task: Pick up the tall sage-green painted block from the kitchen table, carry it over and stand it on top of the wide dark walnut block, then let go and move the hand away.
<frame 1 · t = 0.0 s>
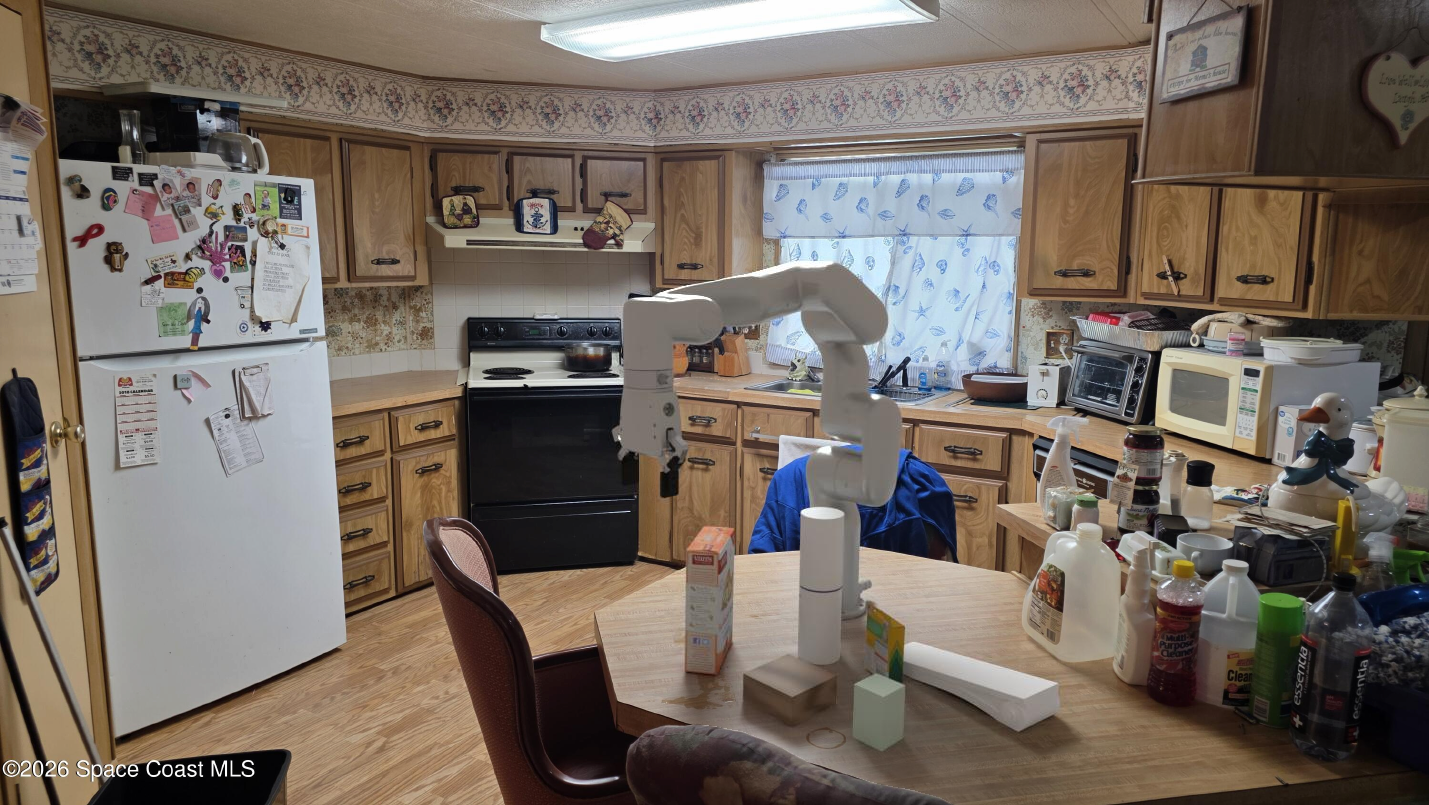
hand: (649, 490, 138), 31 cm above the table, tool pointing down, fingers open, 9 cm apart
sage block: (877, 738, 126), on the table
crayon box: (883, 677, 145), on the table
white arched block: (963, 692, 141), on the table
cracker box: (710, 657, 152), on the table
cylindrical container: (818, 656, 152), on the table
walnut block: (789, 705, 136), on the table
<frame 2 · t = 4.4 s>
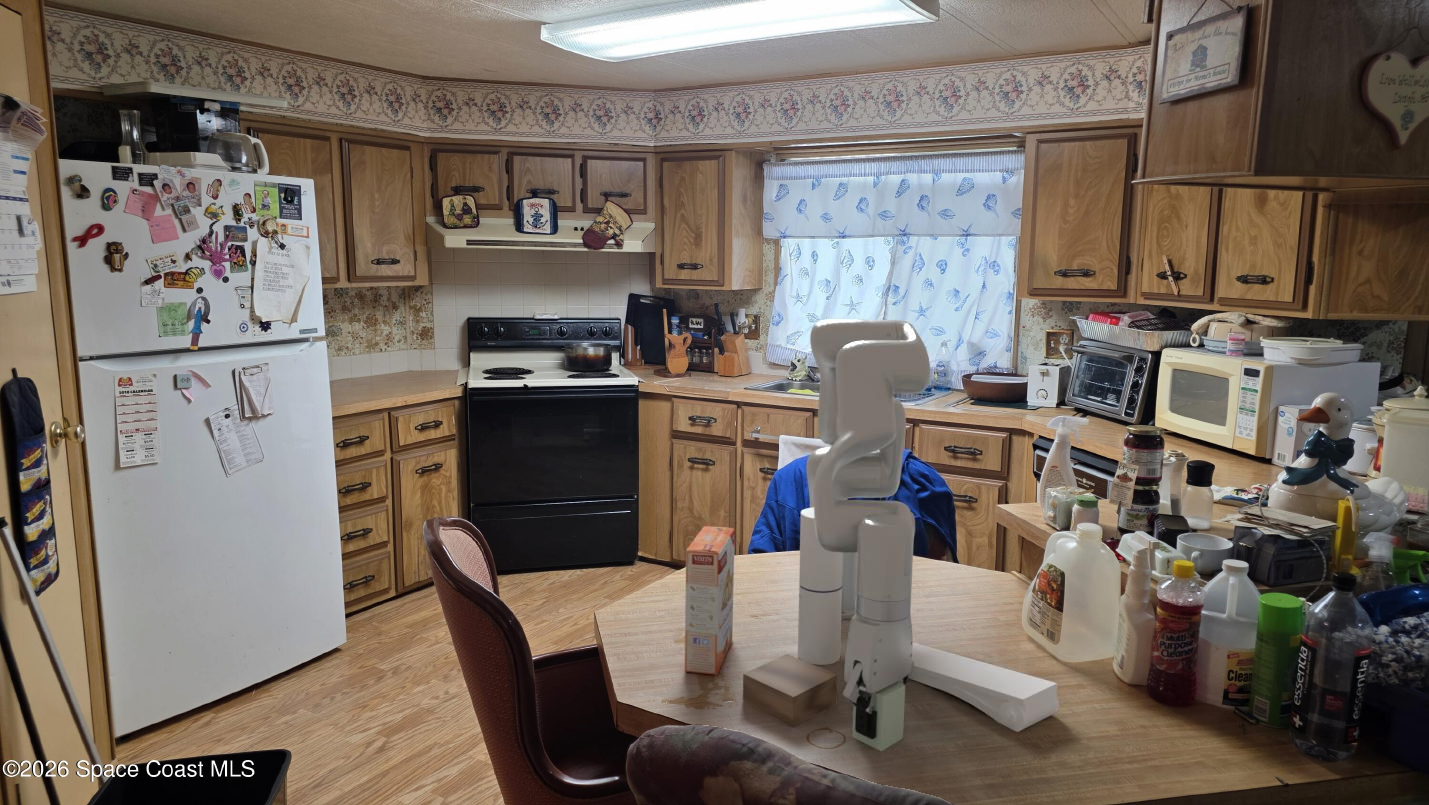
hand: (878, 726, 126), 2 cm above the table, tool pointing down, fingers closed on sage block, 4 cm apart
sage block: (877, 737, 126), on the table, touching gripper
everything else where it was.
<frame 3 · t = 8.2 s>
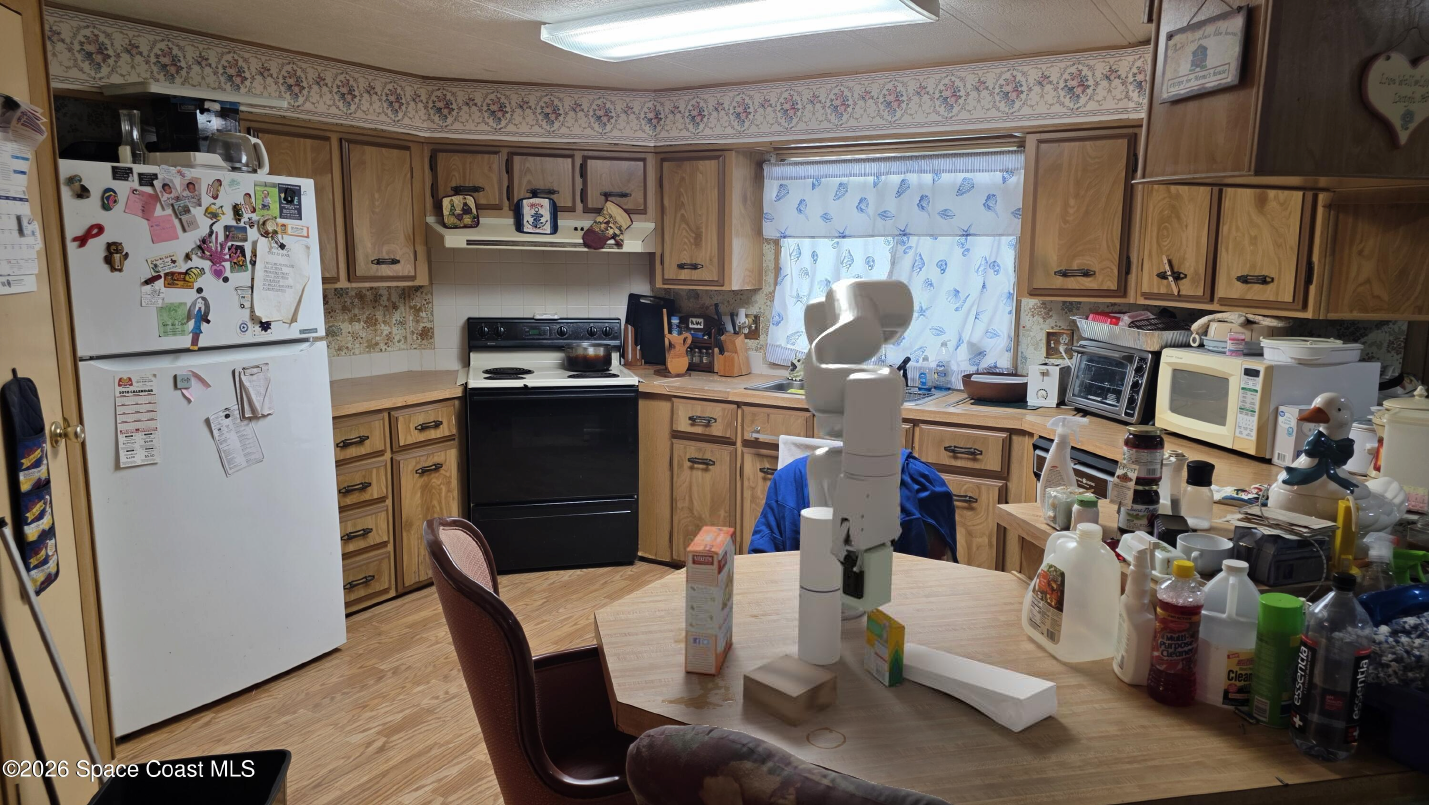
hand: (865, 589, 125), 21 cm above the table, tool pointing down, fingers closed on sage block, 4 cm apart
sage block: (865, 601, 125), point 19 cm above the table, touching gripper
everything else where it was.
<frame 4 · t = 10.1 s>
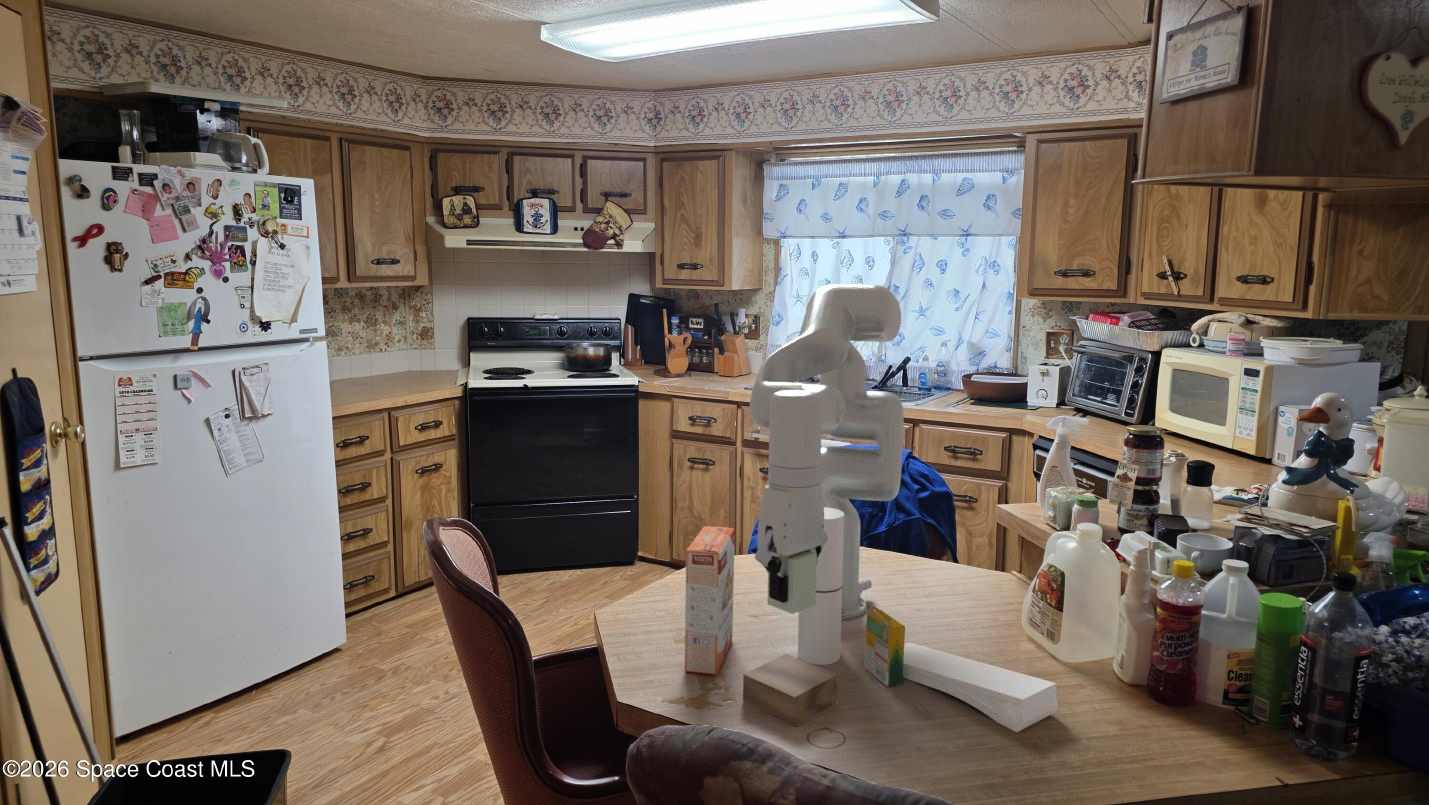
hand: (791, 594, 133), 17 cm above the table, tool pointing down, fingers closed on sage block, 4 cm apart
sage block: (791, 604, 133), point 16 cm above the table, touching gripper
everything else where it was.
when the fingers open (8 cm above the table, at t = 12.1 s): sage block drops 1 cm, resting on walnut block.
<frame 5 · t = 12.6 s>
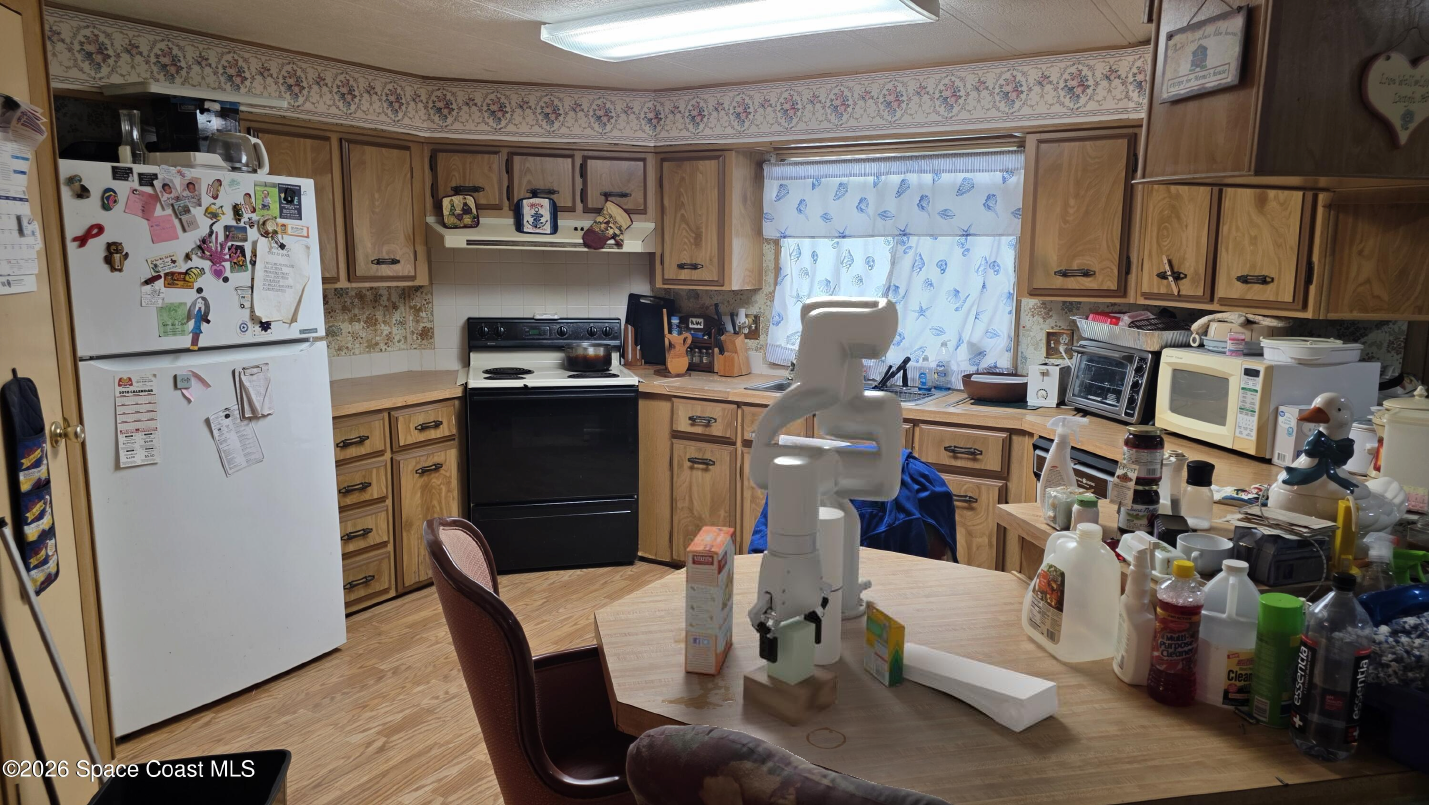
hand: (790, 650, 134), 8 cm above the table, tool pointing down, fingers open, 9 cm apart
sage block: (790, 674, 135), point 5 cm above the table, touching walnut block
walnut block: (789, 705, 136), on the table, touching sage block
everything else where it was.
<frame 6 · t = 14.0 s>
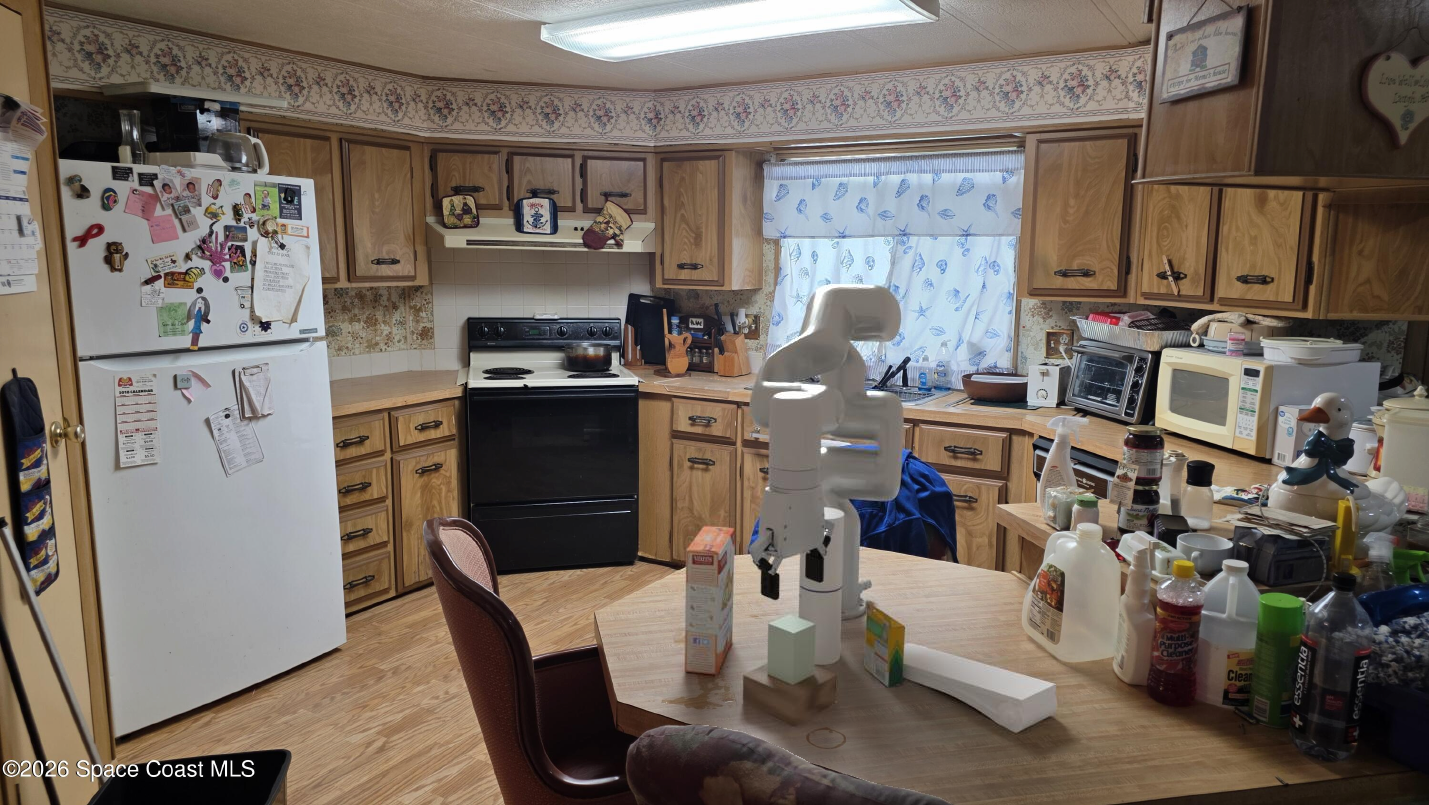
hand: (792, 588, 133), 18 cm above the table, tool pointing down, fingers open, 9 cm apart
nothing on the table moved.
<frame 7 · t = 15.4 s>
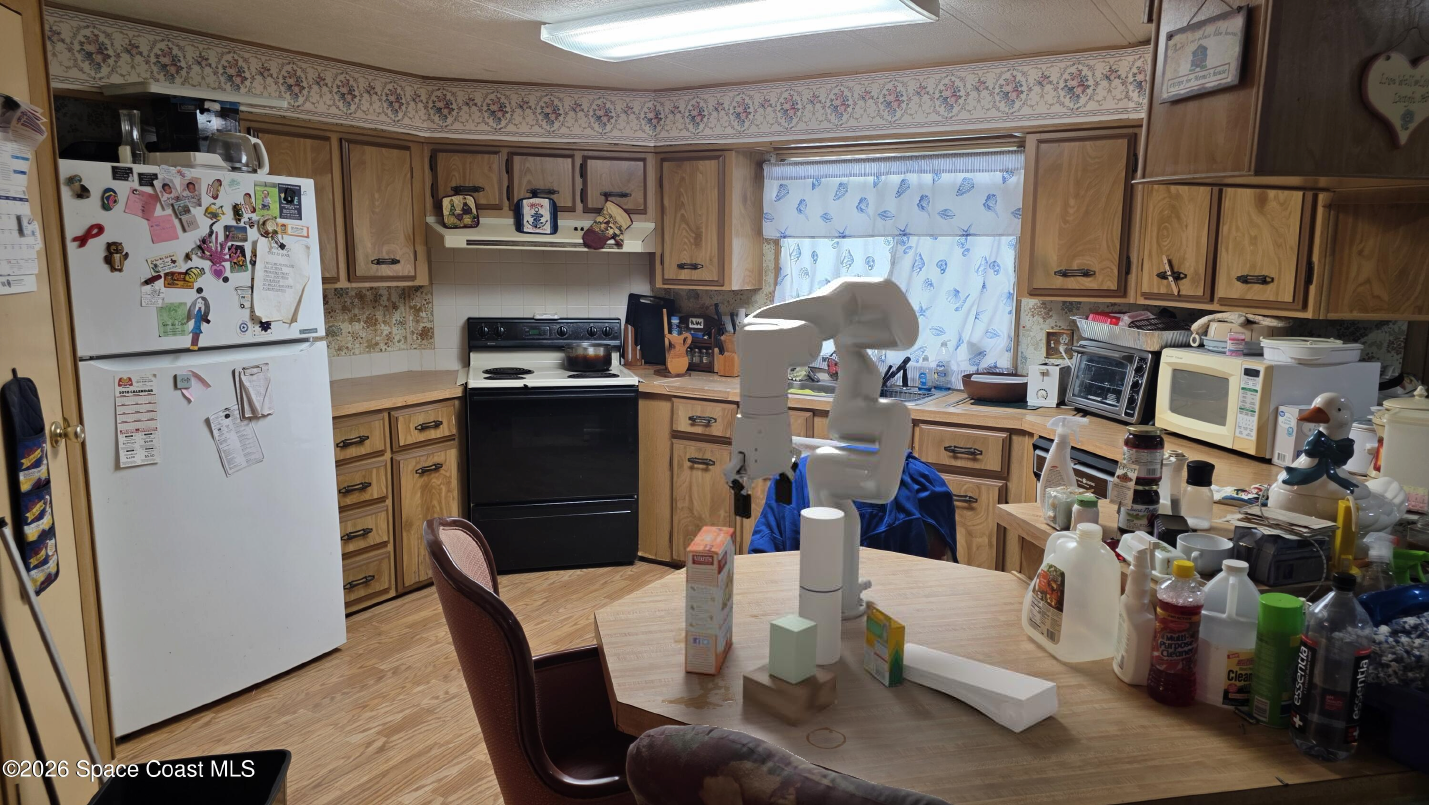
hand: (763, 510, 143), 27 cm above the table, tool pointing down, fingers open, 9 cm apart
nothing on the table moved.
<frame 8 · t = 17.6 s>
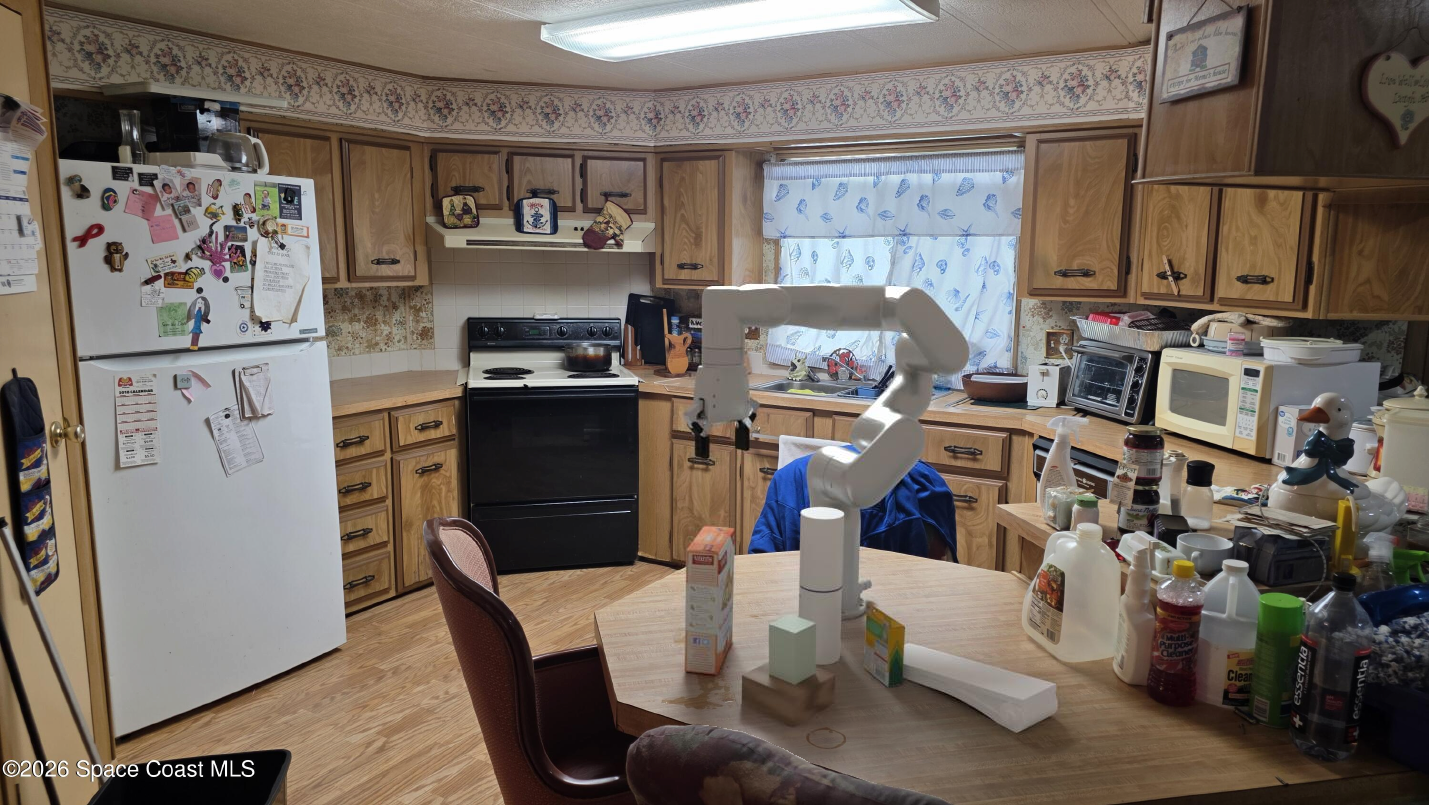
hand: (722, 453, 159), 32 cm above the table, tool pointing down, fingers open, 9 cm apart
nothing on the table moved.
at the end: sage block 0.5 cm off-centre on the walnut block, point 5.0 cm above the walnut block's base; sage block tilted 0°; the gripper is holding nothing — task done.
